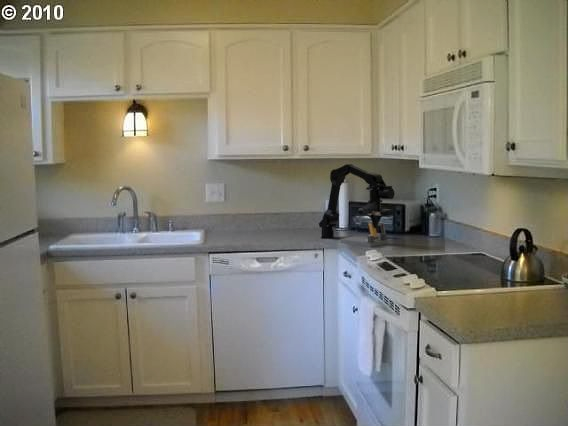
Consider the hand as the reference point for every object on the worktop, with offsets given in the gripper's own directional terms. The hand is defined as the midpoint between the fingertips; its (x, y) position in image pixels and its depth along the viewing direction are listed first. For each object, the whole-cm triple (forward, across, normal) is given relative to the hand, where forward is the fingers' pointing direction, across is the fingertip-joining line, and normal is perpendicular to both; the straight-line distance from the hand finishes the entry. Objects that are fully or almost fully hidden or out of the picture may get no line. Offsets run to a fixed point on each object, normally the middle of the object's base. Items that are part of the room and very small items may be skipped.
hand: (375, 228), depth 295 cm
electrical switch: (+9, -14, +20) cm, 25 cm away
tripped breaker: (+5, -1, 0) cm, 5 cm away
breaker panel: (+9, -8, 0) cm, 12 cm away
